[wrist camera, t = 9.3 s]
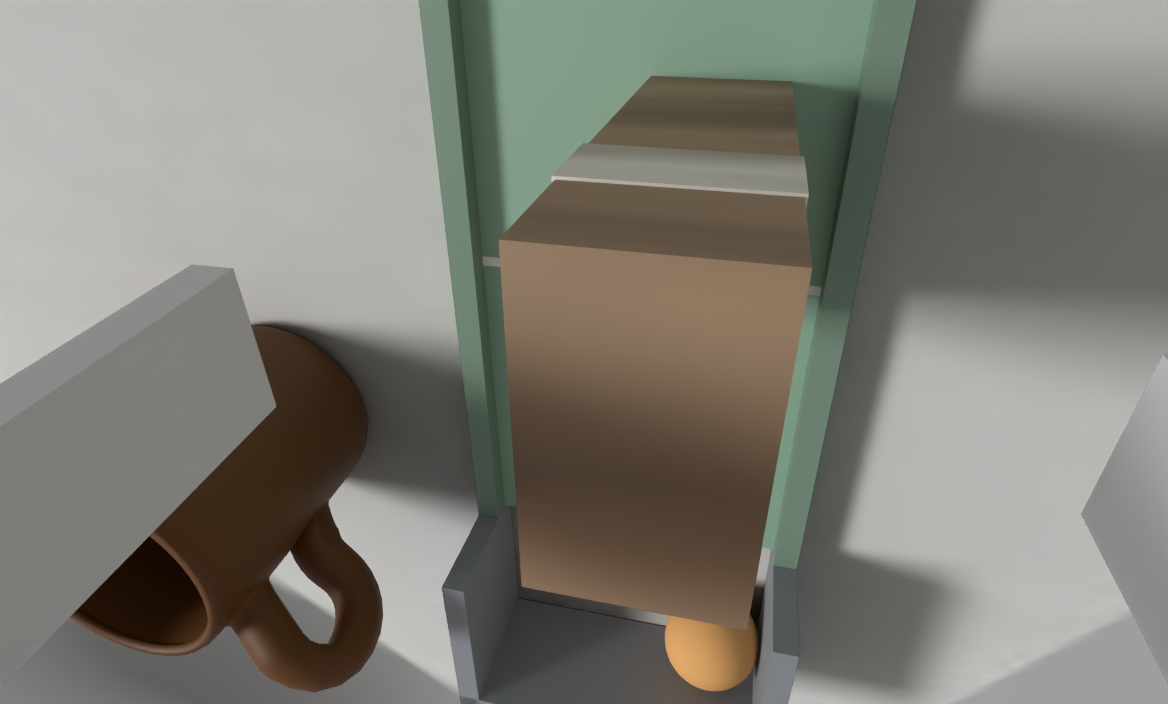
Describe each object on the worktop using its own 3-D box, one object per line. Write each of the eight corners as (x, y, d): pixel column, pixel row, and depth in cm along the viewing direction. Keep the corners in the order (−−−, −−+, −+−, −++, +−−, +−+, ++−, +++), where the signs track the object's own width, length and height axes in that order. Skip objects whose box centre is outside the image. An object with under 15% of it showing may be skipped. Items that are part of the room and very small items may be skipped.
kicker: (649, 73, 18) (494, 235, 8) (794, 79, 18) (817, 264, 8) (639, 284, 21) (518, 588, 11) (762, 296, 21) (750, 633, 11)
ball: (685, 623, 25) (702, 722, 25) (769, 593, 26) (785, 688, 26) (642, 595, 28) (657, 682, 28) (718, 570, 29) (733, 653, 29)
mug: (496, 470, 28) (385, 682, 20) (408, 556, 32) (287, 760, 24) (242, 279, 26) (8, 429, 18) (182, 396, 30) (-30, 560, 22)
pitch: (427, -136, 18) (318, -158, 13) (936, -153, 15) (997, -186, 11) (503, 610, 32) (462, 710, 28) (770, 662, 30) (769, 781, 25)
